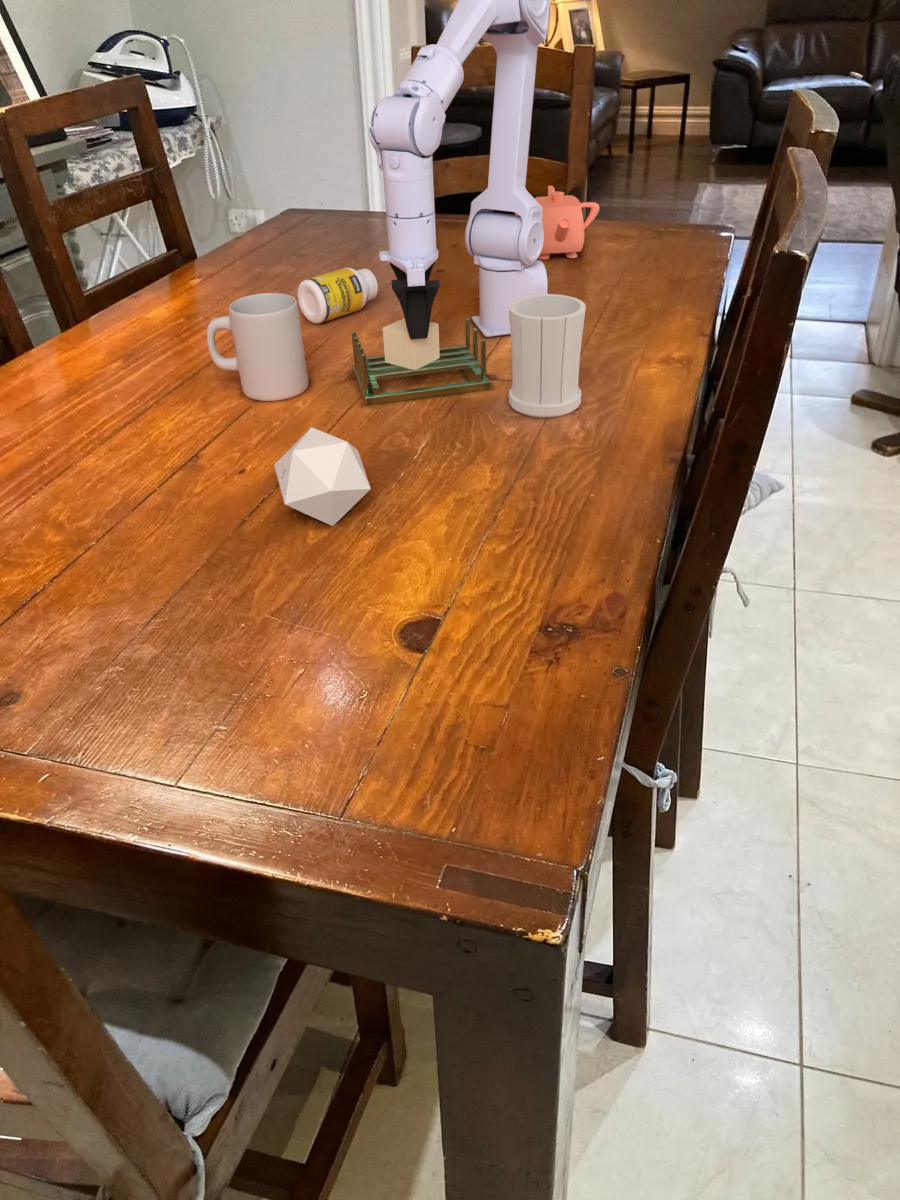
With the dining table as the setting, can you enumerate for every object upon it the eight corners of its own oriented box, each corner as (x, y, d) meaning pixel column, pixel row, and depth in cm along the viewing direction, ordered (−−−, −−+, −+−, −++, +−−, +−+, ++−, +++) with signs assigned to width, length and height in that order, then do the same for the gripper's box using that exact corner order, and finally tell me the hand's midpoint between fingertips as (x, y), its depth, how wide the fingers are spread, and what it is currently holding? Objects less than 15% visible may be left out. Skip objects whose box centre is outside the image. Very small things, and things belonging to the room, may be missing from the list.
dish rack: (469, 358, 127) (468, 314, 123) (490, 389, 118) (490, 343, 114) (352, 372, 124) (348, 328, 120) (366, 405, 115) (361, 358, 112)
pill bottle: (310, 274, 135) (371, 255, 141) (289, 288, 140) (348, 269, 146) (328, 318, 136) (387, 297, 143) (307, 330, 141) (365, 309, 148)
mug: (313, 374, 124) (302, 291, 118) (304, 400, 117) (292, 313, 111) (223, 377, 124) (207, 294, 118) (209, 403, 117) (192, 317, 111)
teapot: (609, 253, 164) (612, 191, 158) (563, 268, 158) (565, 205, 152) (549, 239, 173) (550, 180, 167) (503, 253, 167) (503, 192, 161)
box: (409, 350, 122) (407, 316, 119) (440, 358, 120) (438, 323, 117) (384, 362, 119) (382, 327, 116) (415, 370, 116) (413, 335, 114)
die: (305, 490, 99) (247, 442, 91) (374, 448, 97) (321, 395, 89) (322, 552, 95) (263, 508, 87) (396, 509, 93) (342, 459, 85)
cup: (490, 392, 117) (489, 297, 110) (554, 379, 120) (557, 285, 113) (528, 425, 109) (530, 323, 102) (596, 409, 112) (602, 310, 105)
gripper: (375, 200, 115) (383, 310, 122) (377, 230, 103) (386, 350, 111) (432, 196, 115) (437, 306, 123) (440, 227, 103) (445, 346, 111)
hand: (417, 327), depth 117 cm, fingers open, 7 cm apart
